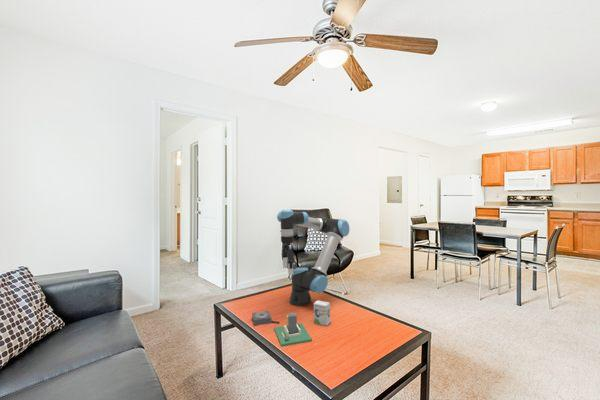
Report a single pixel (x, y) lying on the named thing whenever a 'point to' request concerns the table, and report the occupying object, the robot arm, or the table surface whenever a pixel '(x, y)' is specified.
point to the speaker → (261, 318)
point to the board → (292, 335)
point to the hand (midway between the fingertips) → (287, 270)
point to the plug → (292, 323)
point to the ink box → (322, 312)
